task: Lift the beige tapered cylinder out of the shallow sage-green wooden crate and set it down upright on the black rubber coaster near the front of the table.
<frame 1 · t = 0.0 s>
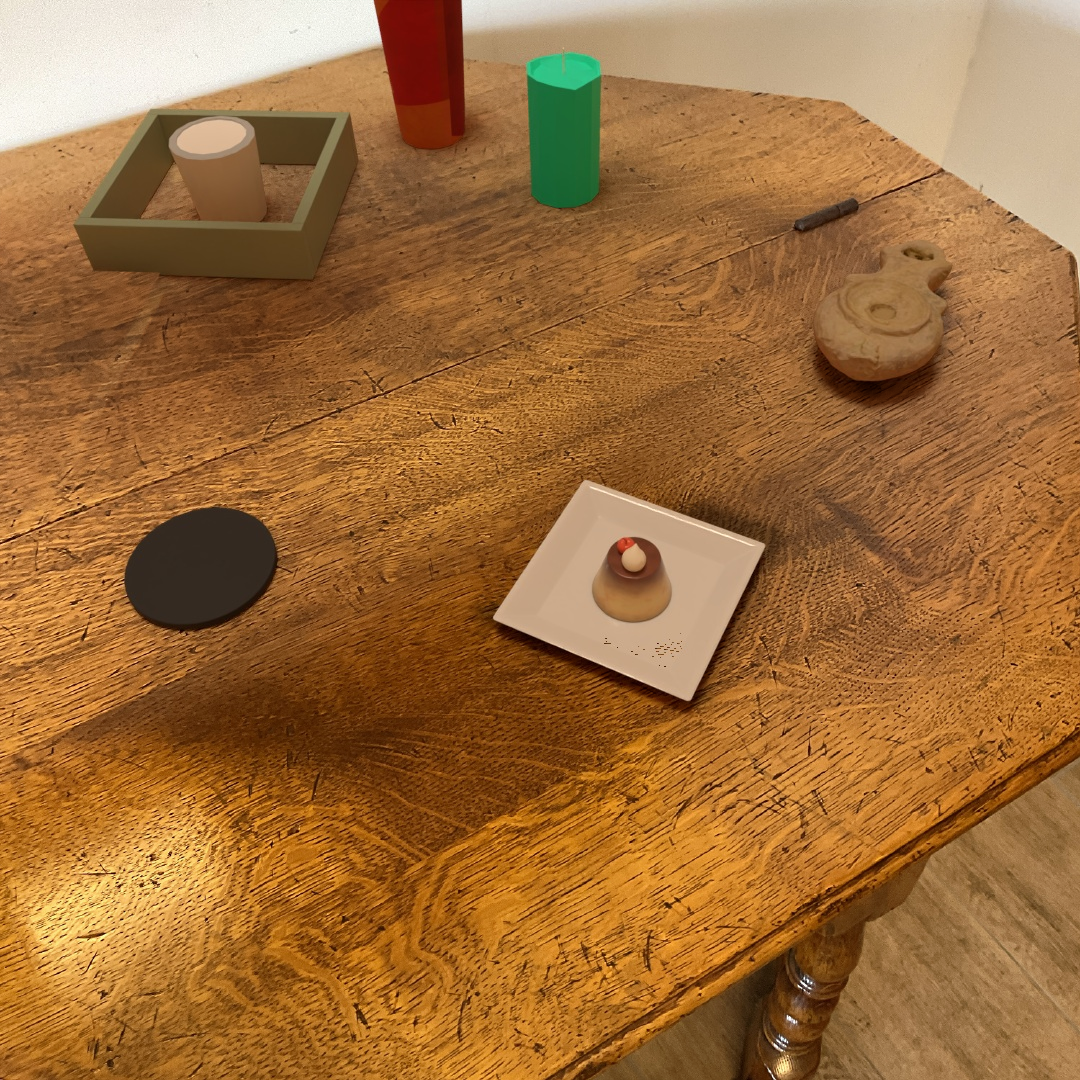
coffee cup: (432, 134, 93), on the table
oil lamp: (874, 341, 73), on the table
beige tapered cylinder: (234, 215, 86), resting in crate
coaster: (203, 568, 61), on the table
dessert: (631, 593, 59), on the table
candle: (564, 190, 87), on the table
crate: (234, 213, 85), on the table
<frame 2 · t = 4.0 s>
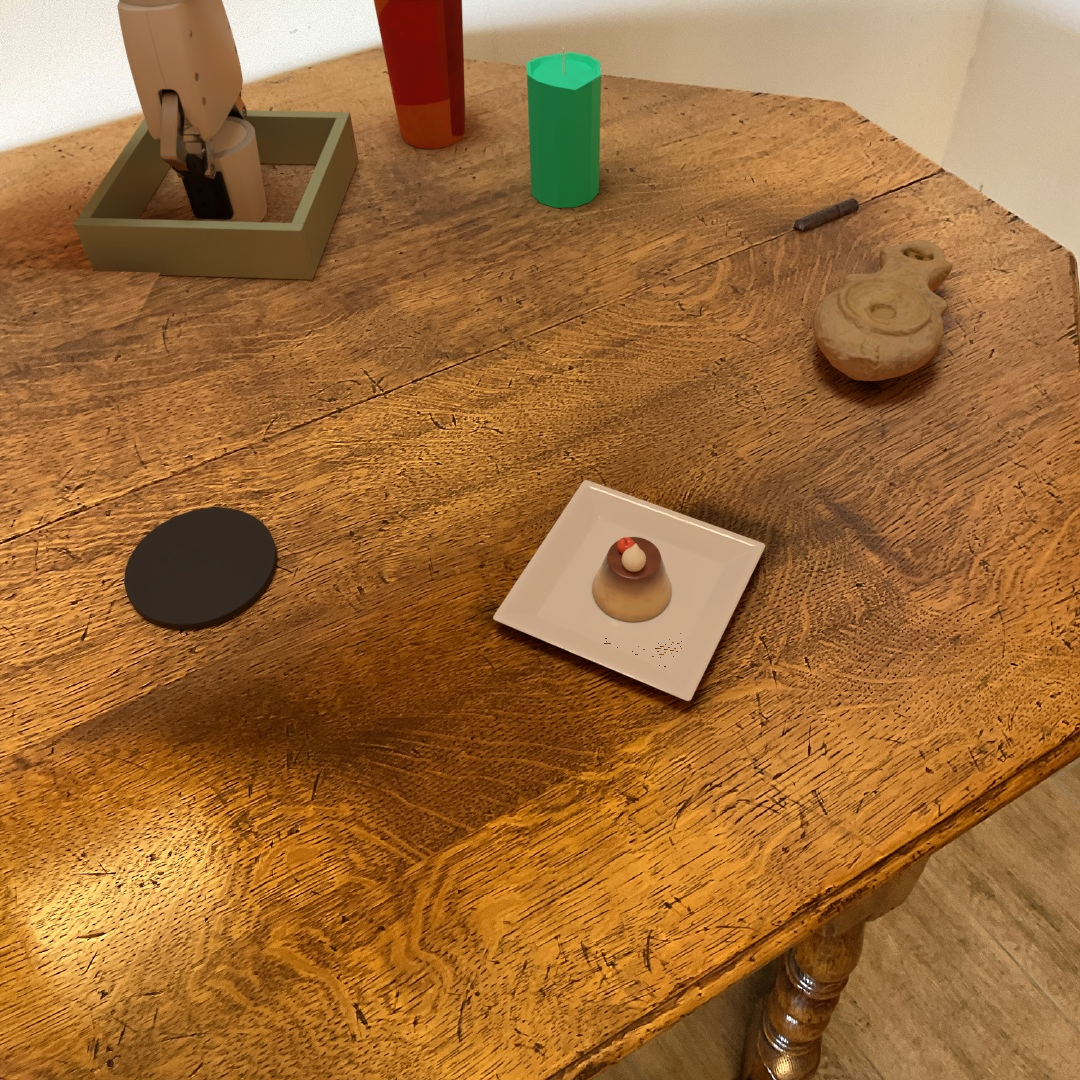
hand: (227, 190, 84), 2 cm above the table, tool pointing down, fingers closed on beige tapered cylinder, 6 cm apart
beige tapered cylinder: (235, 215, 86), resting in crate, touching gripper
everything else where it was.
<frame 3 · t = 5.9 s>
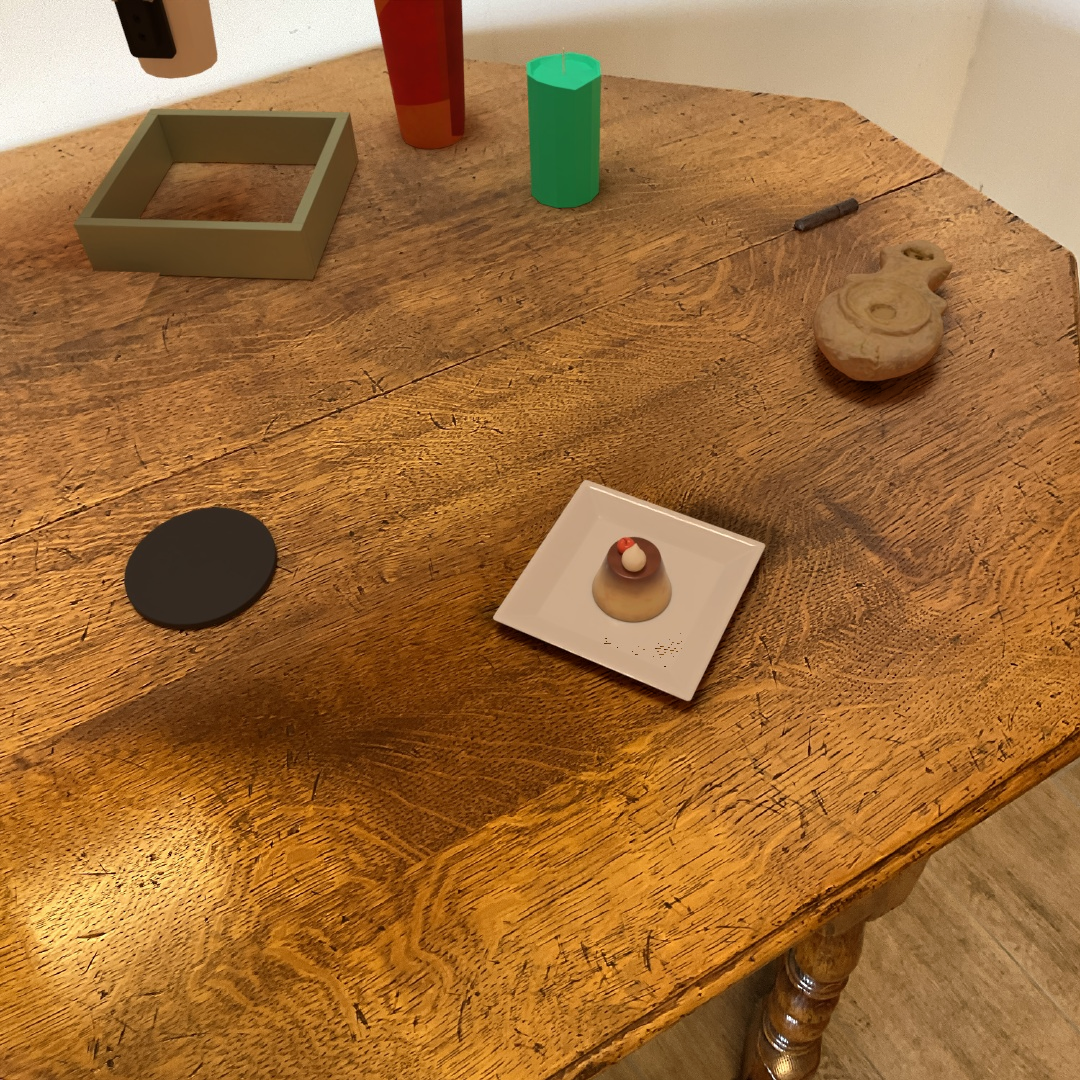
hand: (171, 30, 73), 15 cm above the table, tool pointing down, fingers closed on beige tapered cylinder, 6 cm apart
beige tapered cylinder: (180, 63, 75), point 13 cm above the table, touching gripper
everything else where it was.
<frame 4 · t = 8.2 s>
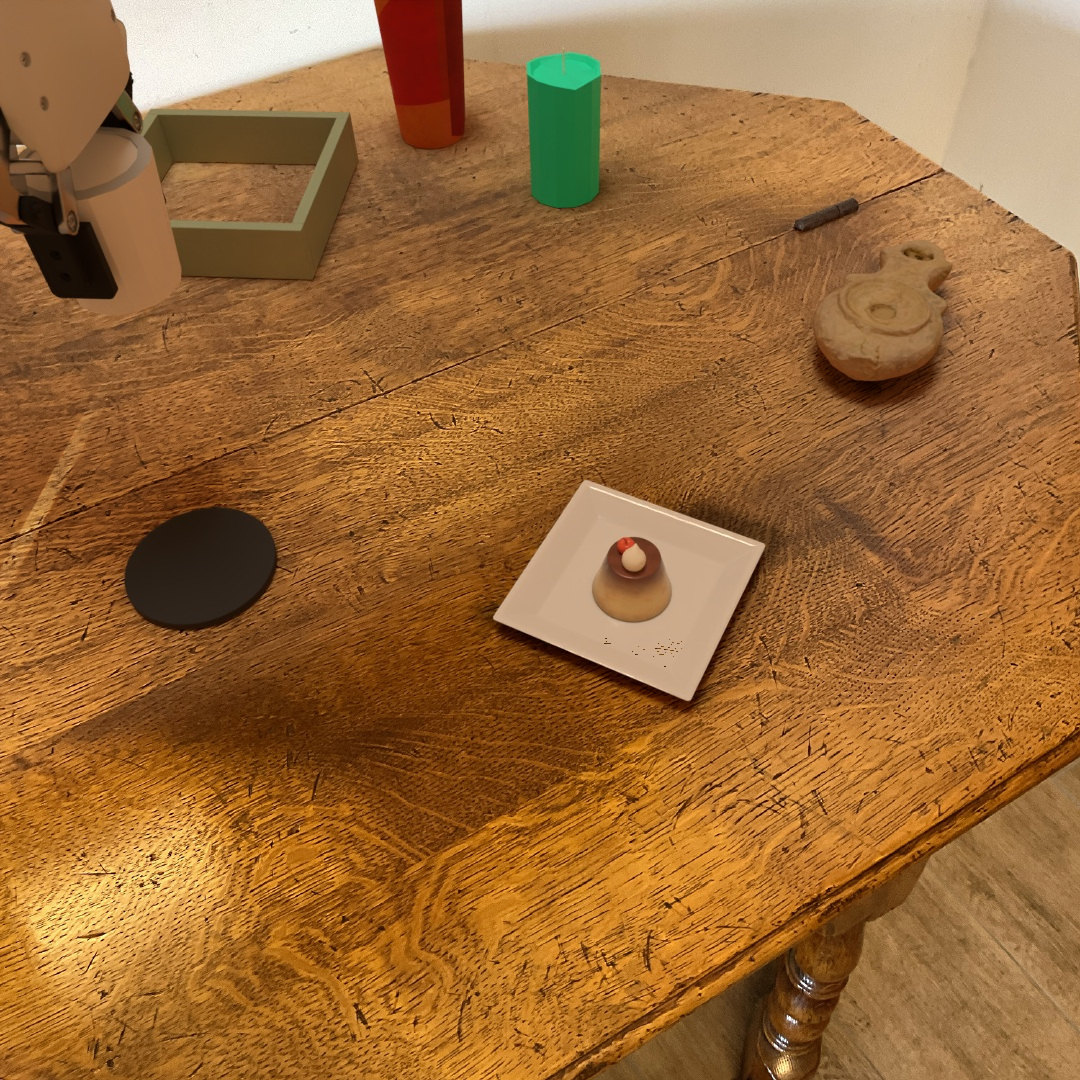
hand: (113, 247, 52), 18 cm above the table, tool pointing down, fingers closed on beige tapered cylinder, 6 cm apart
beige tapered cylinder: (129, 285, 53), point 15 cm above the table, touching gripper
everything else where it was.
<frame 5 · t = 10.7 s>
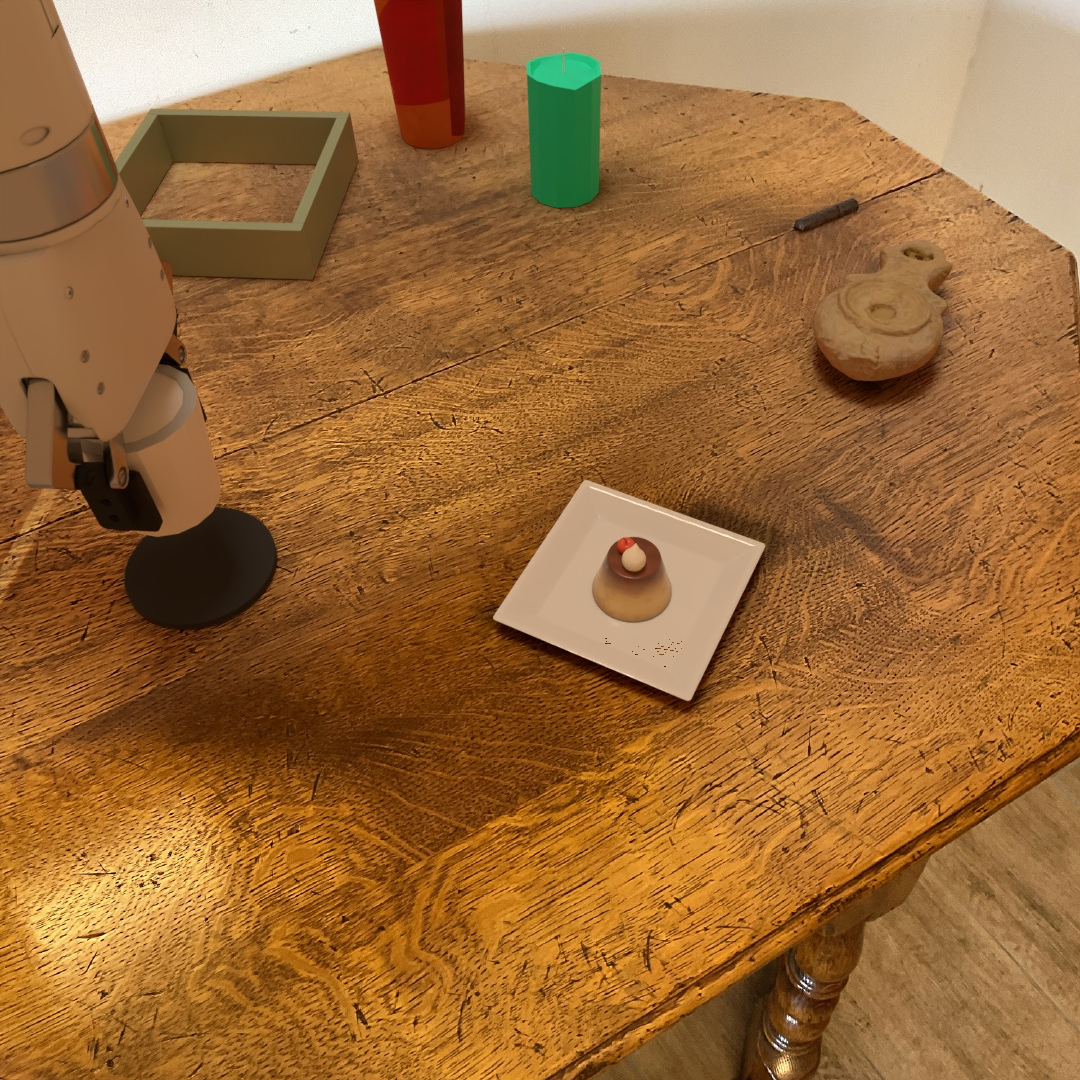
hand: (156, 471, 54), 9 cm above the table, tool pointing down, fingers closed on beige tapered cylinder, 6 cm apart
beige tapered cylinder: (171, 500, 56), point 6 cm above the table, touching gripper
everything else where it was.
when the fingers open (3 cm above the table, at t = 12.7 s): beige tapered cylinder stays where it is, resting on coaster.
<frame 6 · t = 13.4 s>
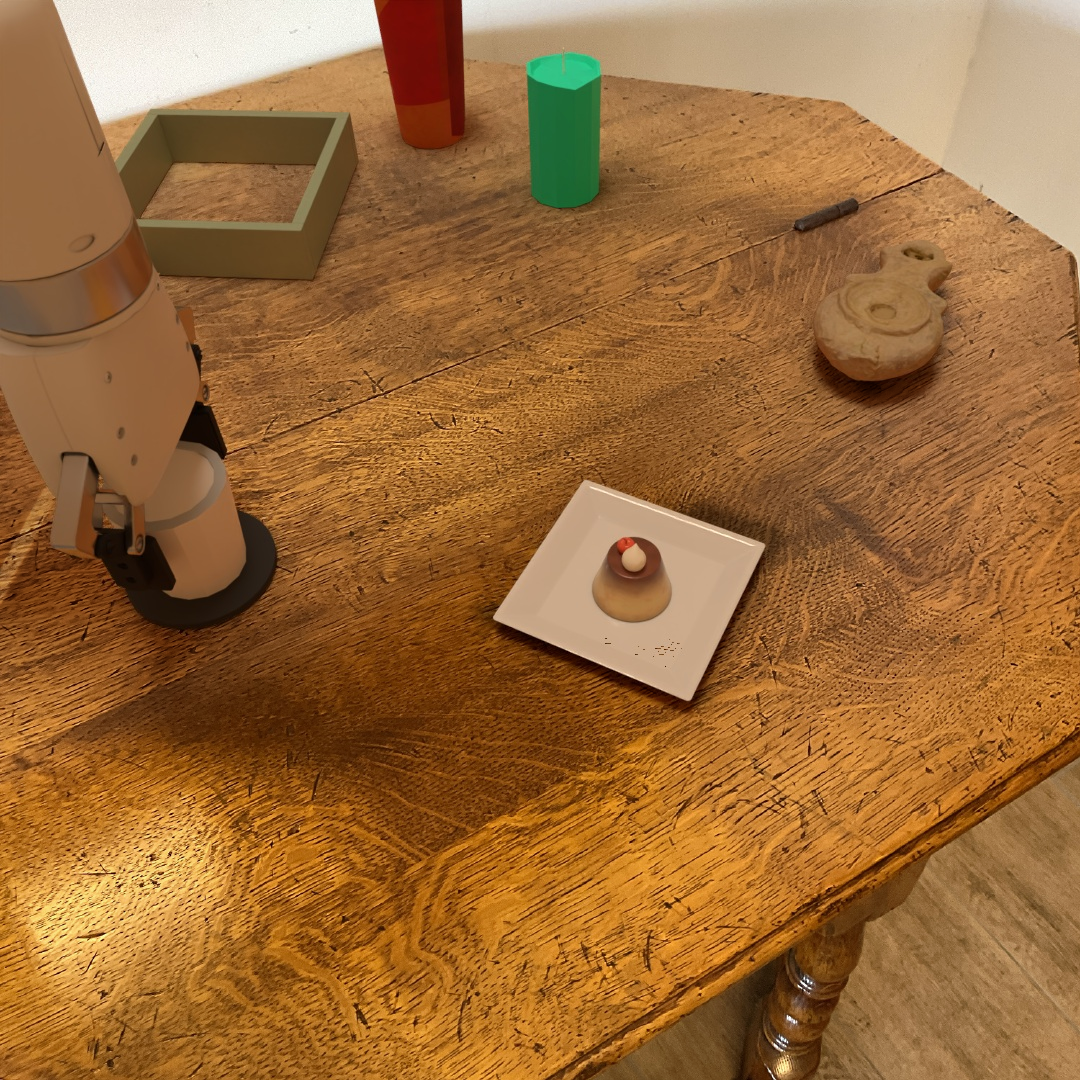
hand: (176, 517, 57), 5 cm above the table, tool pointing down, fingers open, 9 cm apart
beige tapered cylinder: (200, 563, 60), resting on coaster
everything else where it was.
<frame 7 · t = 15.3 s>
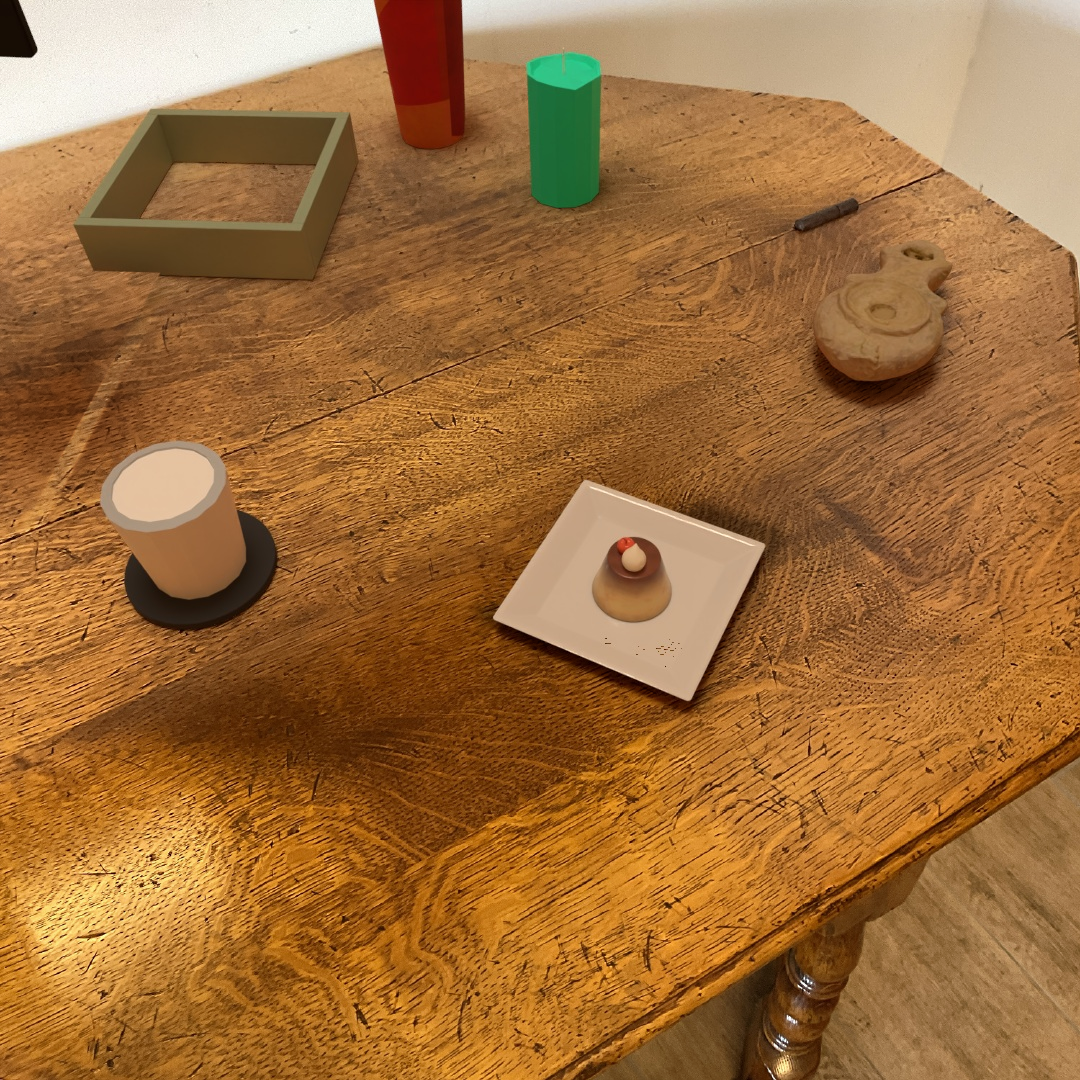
nothing on the table moved.
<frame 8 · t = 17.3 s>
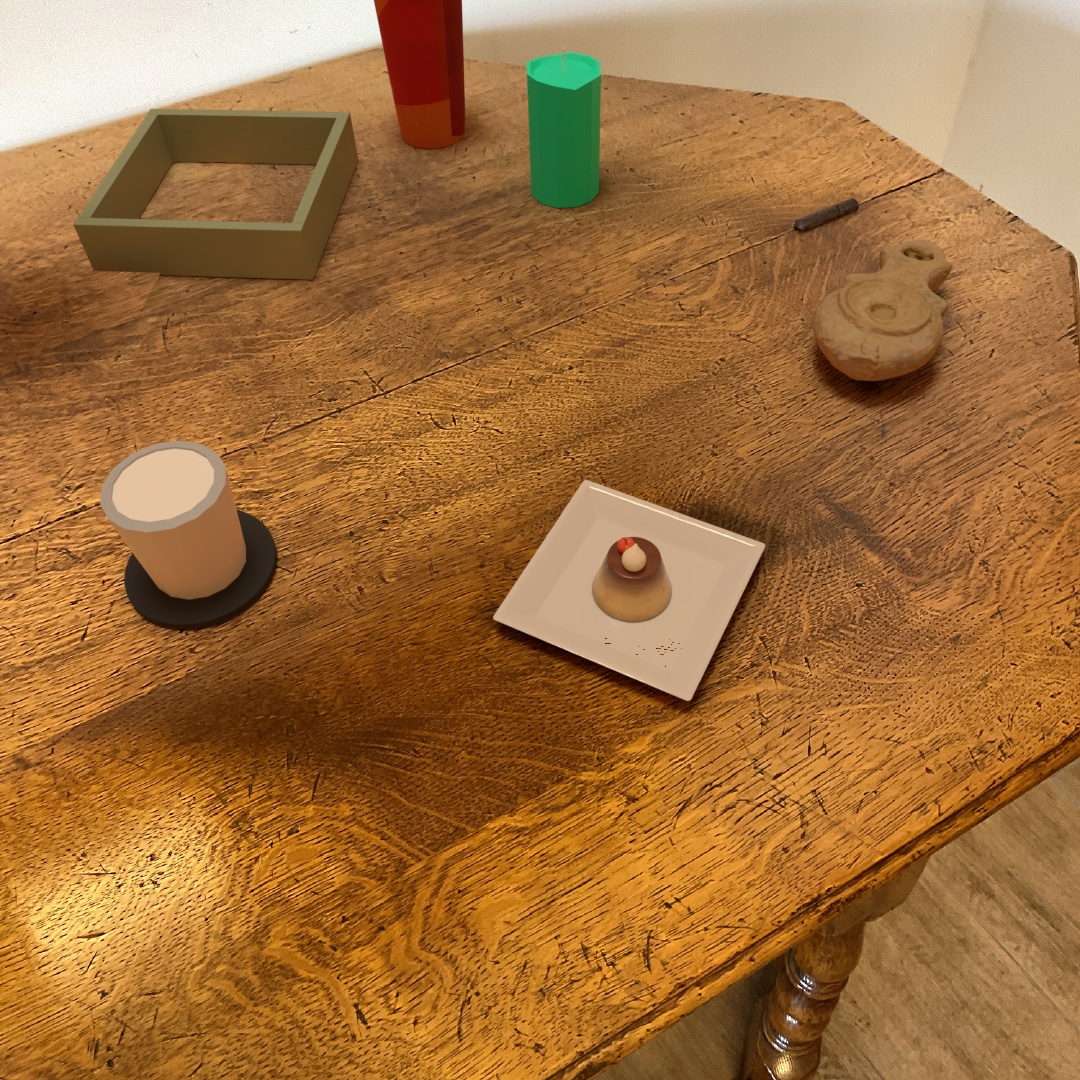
nothing on the table moved.
at the end: beige tapered cylinder 0.1 cm off-centre on the coaster, point 0.4 cm above the coaster's base; beige tapered cylinder tilted 0°; the gripper is holding nothing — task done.
